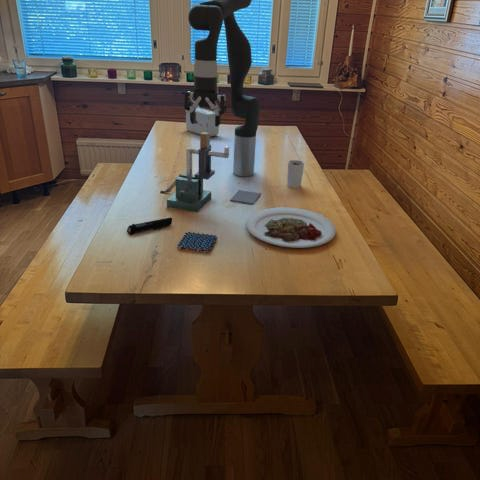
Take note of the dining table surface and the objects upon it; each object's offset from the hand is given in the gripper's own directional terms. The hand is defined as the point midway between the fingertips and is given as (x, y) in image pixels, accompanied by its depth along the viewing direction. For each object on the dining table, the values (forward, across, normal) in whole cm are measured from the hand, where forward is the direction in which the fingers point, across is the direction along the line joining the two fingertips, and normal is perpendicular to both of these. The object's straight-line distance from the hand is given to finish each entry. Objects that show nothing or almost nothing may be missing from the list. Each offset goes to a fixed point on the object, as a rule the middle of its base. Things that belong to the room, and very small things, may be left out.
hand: (205, 124), depth 154 cm
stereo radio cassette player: (+30, +39, -96) cm, 108 cm away
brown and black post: (+18, 0, 0) cm, 18 cm away
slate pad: (+30, -12, -13) cm, 35 cm away
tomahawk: (+30, +18, -15) cm, 39 cm away
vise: (+30, +2, +1) cm, 30 cm away
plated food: (+30, -34, +8) cm, 46 cm away
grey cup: (+30, -27, -34) cm, 53 cm away
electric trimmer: (+30, +10, +25) cm, 40 cm away
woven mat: (+30, -9, +29) cm, 43 cm away
